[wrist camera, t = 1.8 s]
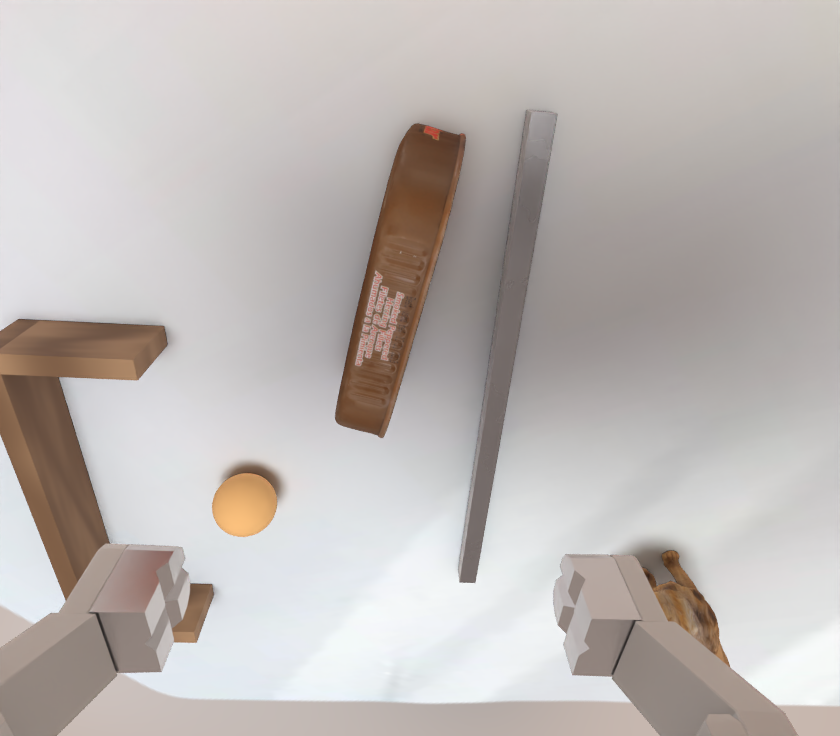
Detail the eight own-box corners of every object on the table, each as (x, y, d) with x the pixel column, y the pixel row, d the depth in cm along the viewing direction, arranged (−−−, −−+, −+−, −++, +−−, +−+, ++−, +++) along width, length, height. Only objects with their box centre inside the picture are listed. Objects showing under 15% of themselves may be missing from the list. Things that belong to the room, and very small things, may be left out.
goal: (164, 326, 31) (133, 359, 27) (213, 594, 42) (196, 642, 38) (18, 319, 30) (-33, 352, 27) (108, 592, 41) (81, 640, 38)
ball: (280, 461, 36) (267, 504, 32) (284, 506, 38) (271, 551, 34) (219, 459, 35) (199, 502, 32) (226, 504, 37) (207, 549, 34)
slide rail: (551, 111, 26) (557, 113, 24) (473, 569, 41) (475, 582, 40) (526, 110, 25) (531, 112, 24) (458, 569, 41) (459, 582, 40)
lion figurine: (591, 553, 41) (636, 670, 33) (655, 521, 39) (717, 634, 31) (676, 643, 47) (730, 759, 39) (734, 617, 45) (803, 733, 37)
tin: (391, 384, 33) (387, 476, 26) (340, 373, 32) (321, 463, 25) (464, 126, 26) (487, 151, 19) (400, 108, 25) (399, 125, 18)
